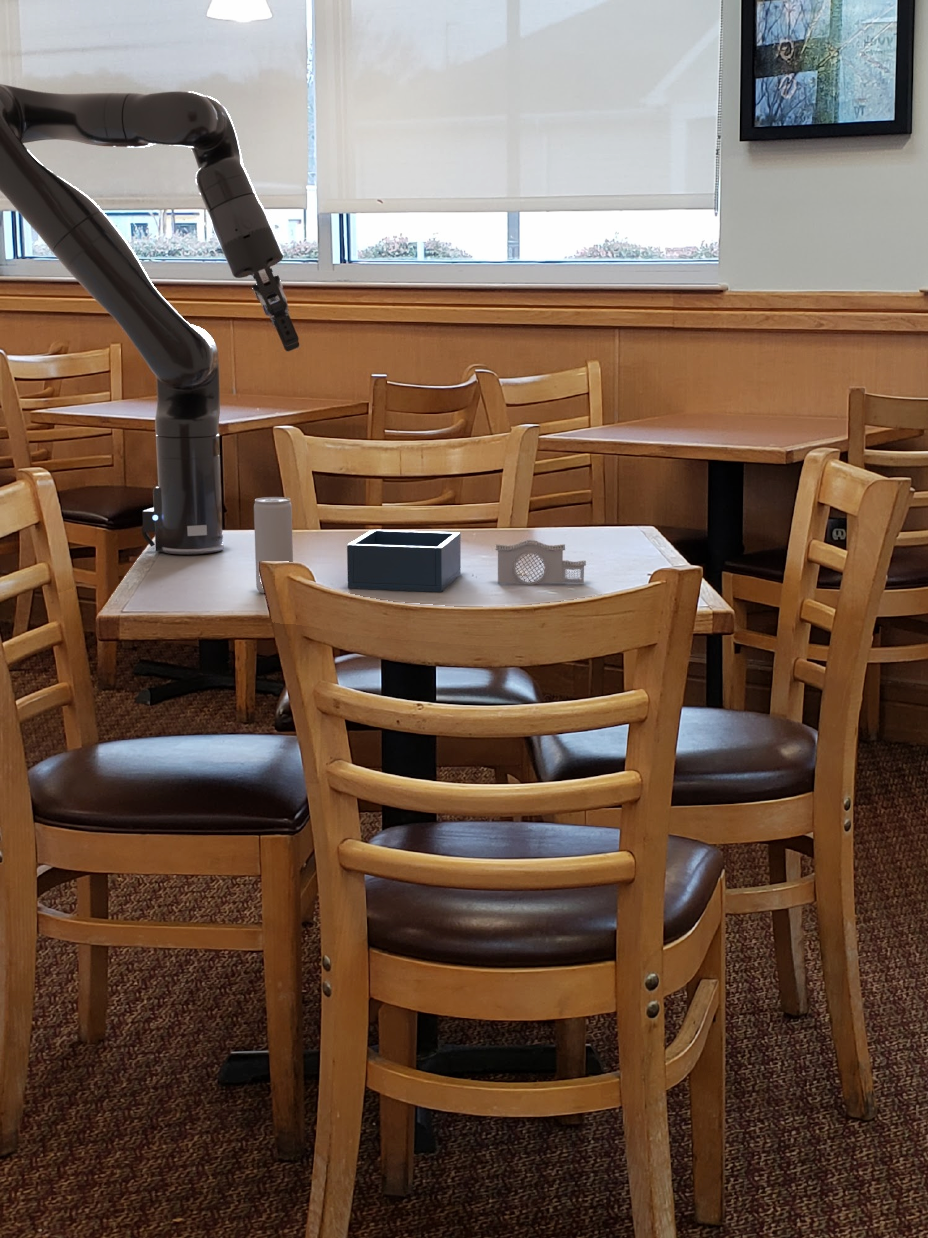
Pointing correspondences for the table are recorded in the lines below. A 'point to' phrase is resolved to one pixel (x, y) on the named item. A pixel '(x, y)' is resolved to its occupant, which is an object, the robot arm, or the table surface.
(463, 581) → the table surface
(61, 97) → the robot arm
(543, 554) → the garden wall model
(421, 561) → the bin
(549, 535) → the table surface
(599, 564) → the table surface
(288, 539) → the beverage can
